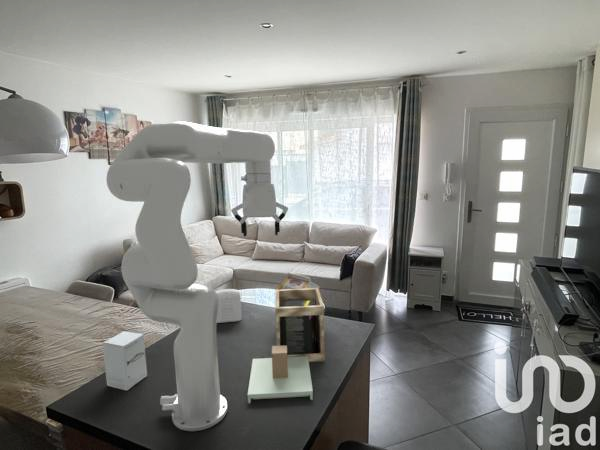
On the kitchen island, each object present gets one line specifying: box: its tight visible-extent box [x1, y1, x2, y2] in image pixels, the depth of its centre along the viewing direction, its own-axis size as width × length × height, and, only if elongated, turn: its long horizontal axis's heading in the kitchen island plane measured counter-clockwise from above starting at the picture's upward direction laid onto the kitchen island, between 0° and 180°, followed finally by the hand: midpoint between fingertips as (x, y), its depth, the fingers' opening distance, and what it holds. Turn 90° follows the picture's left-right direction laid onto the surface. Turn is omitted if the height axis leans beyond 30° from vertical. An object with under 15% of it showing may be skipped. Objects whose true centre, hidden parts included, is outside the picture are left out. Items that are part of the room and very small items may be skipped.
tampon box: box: [281, 299, 317, 355], centre depth 112 cm, size 11×9×15 cm
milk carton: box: [277, 272, 321, 293], centre depth 129 cm, size 10×10×19 cm
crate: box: [274, 288, 326, 363], centre depth 112 cm, size 14×16×17 cm
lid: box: [247, 345, 314, 404], centre depth 96 cm, size 16×17×10 cm
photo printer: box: [215, 288, 242, 324], centre depth 135 cm, size 10×4×12 cm, turn 102°
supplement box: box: [102, 331, 148, 391], centre depth 97 cm, size 7×7×13 cm
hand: (260, 235), depth 111 cm, fingers open, 9 cm apart
